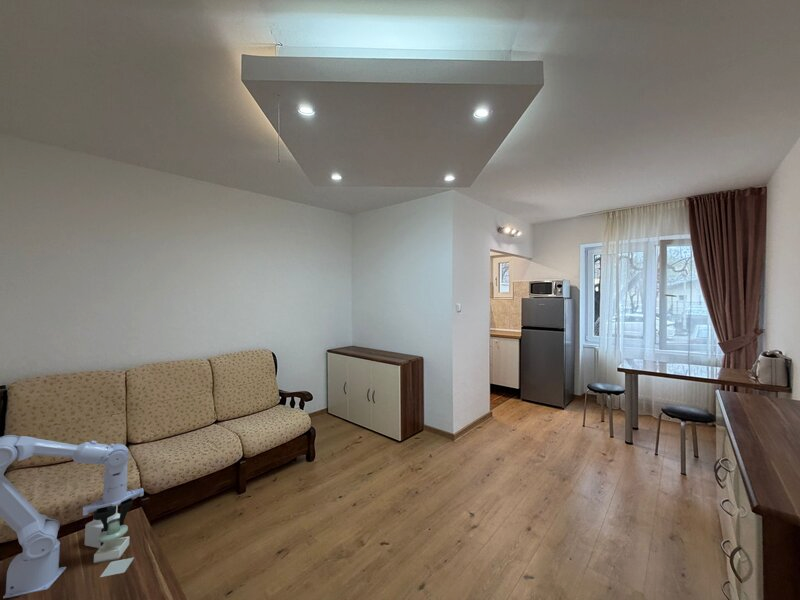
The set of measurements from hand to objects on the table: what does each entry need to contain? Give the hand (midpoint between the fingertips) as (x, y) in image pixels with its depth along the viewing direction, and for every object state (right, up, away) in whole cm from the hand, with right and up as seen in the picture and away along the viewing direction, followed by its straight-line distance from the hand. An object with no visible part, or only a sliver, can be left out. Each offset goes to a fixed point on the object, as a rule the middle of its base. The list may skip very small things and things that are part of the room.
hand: (113, 526), depth 102 cm
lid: (0, -2, 0) cm, 2 cm away
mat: (+6, -9, -6) cm, 12 cm away
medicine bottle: (-9, -9, +6) cm, 14 cm away
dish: (0, -9, 0) cm, 9 cm away
